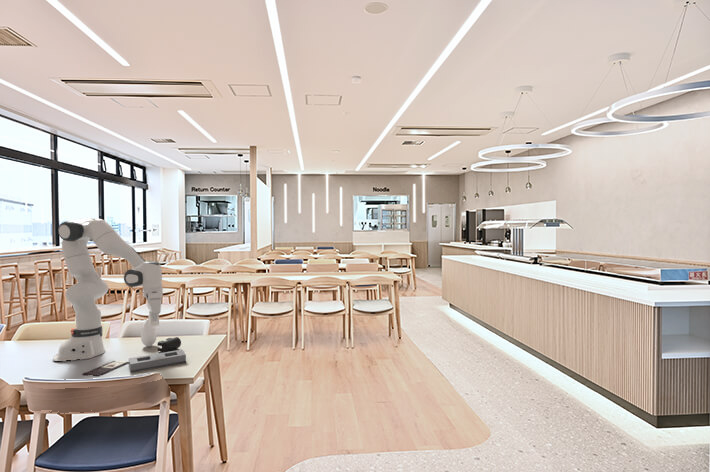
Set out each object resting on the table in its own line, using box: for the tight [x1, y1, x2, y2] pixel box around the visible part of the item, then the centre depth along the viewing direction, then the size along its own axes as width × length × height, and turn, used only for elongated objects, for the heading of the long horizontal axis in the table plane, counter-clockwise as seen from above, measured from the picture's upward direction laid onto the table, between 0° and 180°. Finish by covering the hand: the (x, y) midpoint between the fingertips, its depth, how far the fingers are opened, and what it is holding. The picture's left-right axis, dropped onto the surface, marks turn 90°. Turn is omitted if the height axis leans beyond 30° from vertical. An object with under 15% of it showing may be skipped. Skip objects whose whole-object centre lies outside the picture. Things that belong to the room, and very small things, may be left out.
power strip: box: [128, 349, 187, 374], centre depth 193 cm, size 24×10×4 cm, turn 124°
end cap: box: [157, 336, 182, 354], centre depth 213 cm, size 10×7×7 cm
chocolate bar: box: [82, 360, 129, 377], centre depth 188 cm, size 9×1×18 cm
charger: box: [148, 310, 160, 327], centre depth 201 cm, size 4×4×7 cm
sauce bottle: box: [140, 314, 158, 348], centre depth 223 cm, size 8×8×18 cm
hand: (154, 319), depth 201 cm, fingers closed on charger, 4 cm apart
